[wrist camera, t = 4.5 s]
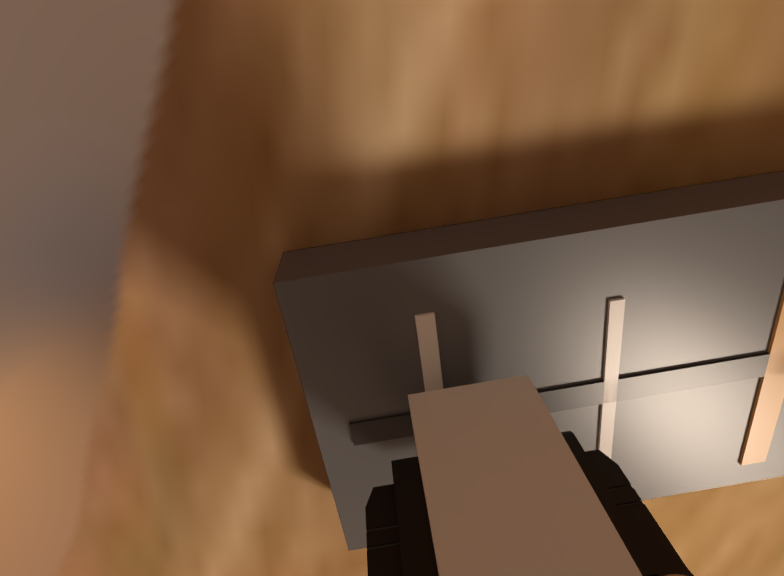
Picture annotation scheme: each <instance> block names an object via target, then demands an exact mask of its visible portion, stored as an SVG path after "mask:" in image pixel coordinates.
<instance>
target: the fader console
mask: <svg viewBox="0 0 784 576" xmlns="http://www.w3.org/2000/svg"><path fill="white" fill-rule="evenodd" d="M273 285H274V288H275V292H276V295H277V299H278V302H279V306H280V309H281V313H282V316H283V320H284V323H285V327H286V331H287V334H288V338H289V341H290V345H291V348H292V352H293V355H294V359H295V362H296V366H297V369H298V373H299V376H300V380H301V383H302V387H303V391H304V394H305V398H306V401H307V405H308V408H309V412H310V415H311V419H312V422H313V426H314V429H315V433H316V436H317V440H318V443H319V447H320V451H321V454H322V458H323V461H324V465H325V468H326V472H327V475H328V479H329V482H330V486H331V489H332V493H333V496H334V500H335V503H336V507H337V511H338V514H339V518H340V521H341V525H342V528H343V532H344V535H345V539H346V542H347V546H348V549H349V550H355V549H361V548H367V538H366V533H367V531H366V512H365V507H366V504H367V502H368V499H369V497H370V494H371V492H372V489H373V487H378V486H384V485H390V484H394V483H393V474H392V464H391V461H392V460H398V459H404V458H410V457H416V456H417V450H416V444H415V438H414V432H413V425H412V419H411V413H410V407H409V400H408V395H410V394H416V393H421V392H427V391H433V390H439V389H445V388H451V387H457V386H463V385H469V384H475V383H481V382H487V381H493V380H499V379H505V378H511V377H517V376H523V375H528V376H529V377H530V379H531V381H532V383H533V385H534V386H535V388H536V390H537V392H538V393H539V395H540V397H541V399H542V400H543V402H544V404H545V406H546V407H547V409H548V411H549V413H550V414H551V416H552V418H553V420H554V421H555V423H556V425H557V427H558V428H559V430H560V432H565V431H571V432H573V433H574V435H575V436H576V438H577V439H578V441H579V443H580V444H581V446H582V448H583V449H584V451H591V450H597V449H599V450H600V451H601V452H603V453H604V454H605V455H606V456H608V457H609V458H610V459H612V460H613V461H614V462H615V463H617V464H618V465H619V467H620V468H621V470H622V471H623V473H624V474H625V476H626V477H627V479H628V480H629V482H630V483H631V486H632V488H634V489H635V491H636V492H637V494H638V495H639V497H640V498H641V500H647V499H653V498H658V497H664V496H670V495H676V494H682V493H688V492H693V491H699V490H705V489H711V488H717V487H723V486H729V485H734V484H740V483H746V482H752V481H758V480H764V479H769V478H775V477H781V476H784V171H780V172H773V173H767V174H761V175H755V176H749V177H743V178H737V179H731V180H724V181H718V182H712V183H706V184H700V185H694V186H688V187H682V188H675V189H669V190H663V191H657V192H651V193H645V194H639V195H633V196H627V197H620V198H614V199H608V200H602V201H596V202H590V203H584V204H578V205H571V206H565V207H559V208H553V209H547V210H541V211H535V212H529V213H522V214H516V215H510V216H504V217H498V218H492V219H486V220H480V221H474V222H467V223H461V224H455V225H449V226H443V227H437V228H431V229H425V230H418V231H412V232H406V233H400V234H394V235H388V236H382V237H376V238H370V239H363V240H357V241H351V242H345V243H339V244H333V245H327V246H321V247H314V248H308V249H302V250H296V251H290V252H284V253H283V255H282V258H281V261H280V264H279V267H278V270H277V273H276V276H275V279H274V282H273Z"/></svg>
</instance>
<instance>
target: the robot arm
mask: <svg viewBox="0 0 784 576" xmlns="http://www.w3.org/2000/svg"><path fill="white" fill-rule="evenodd" d="M561 434H562V435H563V437H564V439H565V441H566V443H567V444H568V446H569V448H570V450H571V451H572V453H573V455H574V457H575V458H576V460H577V462H578V464H579V465H580V467H581V469H582V471H583V472H584V474H585V476H586V478H587V479H588V481H589V483H590V485H591V486H592V488H593V490H594V492H595V493H596V495H597V497H598V499H599V501H600V502H601V504H602V506H603V508H604V509H605V511H606V513H607V515H608V516H609V518H610V520H611V522H612V523H613V525H614V527H615V529H616V530H617V532H618V534H619V536H620V537H621V539H622V541H623V543H624V544H625V546H626V548H627V550H628V551H629V553H630V555H631V557H632V559H633V560H634V562H635V564H636V566H637V567H638V569H639V571H640V573H641V574H642V576H694V575H693V574H692V573H691V572H690V571H689V570H688V568H687V567H686V566H685V564H684V563H683V561H682V560H681V558H680V557H679V555H678V554H677V552H676V551H675V549H674V548H673V546H672V545H671V543H670V542H669V540H668V539H667V537H666V536H665V534H664V533H663V531H662V530H661V528H660V527H659V525H658V524H657V522H656V521H655V519H654V518H653V516H652V515H651V513H650V512H649V510H648V509H647V507H646V506H645V504H643V503H642V500H641V498H640V497H639V495H638V494H637V492H636V491H635V489H634V488H632V486H631V483H630V482H629V480H628V479H627V477H626V476H625V474H624V473H623V471H622V470H621V468H620V467H619V465H618V464H617V463H615V462H614V461H613V460H612V459H610V458H609V457H608V456H606V455H605V454H604V453H603V452H601V451H600V450H599V449H597V450H591V451H584V449H583V448H582V446H581V444H580V443H579V441H578V439H577V438H576V436H575V435H574V433H573V432H571V431H565V432H561ZM391 464H392V474H393V483H394V484H390V485H384V486H378V487H373V489H372V492H371V494H370V497H369V499H368V502H367V504H366V507H365V512H366V531H367V533H366V538H367V564H368V576H439V574H438V568H437V563H436V557H435V551H434V545H433V540H432V534H431V528H430V522H429V517H428V511H427V505H426V500H425V494H424V488H423V482H422V477H421V471H420V465H419V459H418V456H416V457H410V458H404V459H398V460H392V461H391Z"/></svg>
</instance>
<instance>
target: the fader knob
mask: <svg viewBox="0 0 784 576" xmlns="http://www.w3.org/2000/svg"><path fill="white" fill-rule="evenodd" d="M408 400H409V407H410V413H411V419H412V425H413V432H414V438H415V444H416V450H417V456H418V459H419V465H420V471H421V477H422V482H423V488H424V494H425V500H426V505H427V511H428V517H429V522H430V528H431V534H432V540H433V545H434V551H435V557H436V563H437V568H438V574H439V576H642V574H641V573H640V571H639V569H638V567H637V566H636V564H635V562H634V560H633V559H632V557H631V555H630V553H629V551H628V550H627V548H626V546H625V544H624V543H623V541H622V539H621V537H620V536H619V534H618V532H617V530H616V529H615V527H614V525H613V523H612V522H611V520H610V518H609V516H608V515H607V513H606V511H605V509H604V508H603V506H602V504H601V502H600V501H599V499H598V497H597V495H596V493H595V492H594V490H593V488H592V486H591V485H590V483H589V481H588V479H587V478H586V476H585V474H584V472H583V471H582V469H581V467H580V465H579V464H578V462H577V460H576V458H575V457H574V455H573V453H572V451H571V450H570V448H569V446H568V444H567V443H566V441H565V439H564V437H563V435H562V434H561V432H560V430H559V428H558V427H557V425H556V423H555V421H554V420H553V418H552V416H551V414H550V413H549V411H548V409H547V407H546V406H545V404H544V402H543V400H542V399H541V397H540V395H539V393H538V392H537V390H536V388H535V386H534V385H533V383H532V381H531V379H530V377H529V376H528V375H523V376H517V377H511V378H505V379H499V380H493V381H487V382H481V383H475V384H469V385H463V386H457V387H451V388H445V389H439V390H433V391H427V392H421V393H416V394H410V395H408Z"/></svg>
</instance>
